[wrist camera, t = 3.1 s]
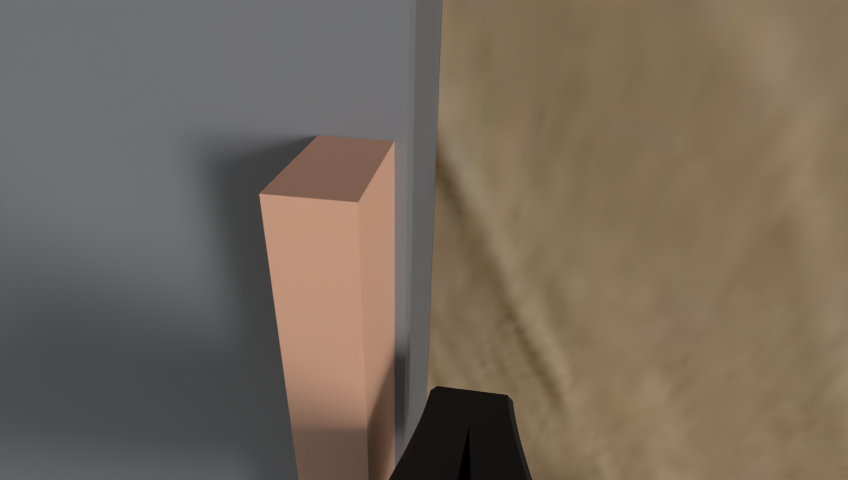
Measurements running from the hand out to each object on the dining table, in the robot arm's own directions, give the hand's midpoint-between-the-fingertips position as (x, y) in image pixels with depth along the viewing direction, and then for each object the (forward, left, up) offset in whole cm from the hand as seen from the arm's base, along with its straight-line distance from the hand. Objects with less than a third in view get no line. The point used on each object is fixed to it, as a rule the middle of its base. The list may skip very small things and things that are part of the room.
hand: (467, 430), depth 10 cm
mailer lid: (0, +8, -2) cm, 8 cm away
